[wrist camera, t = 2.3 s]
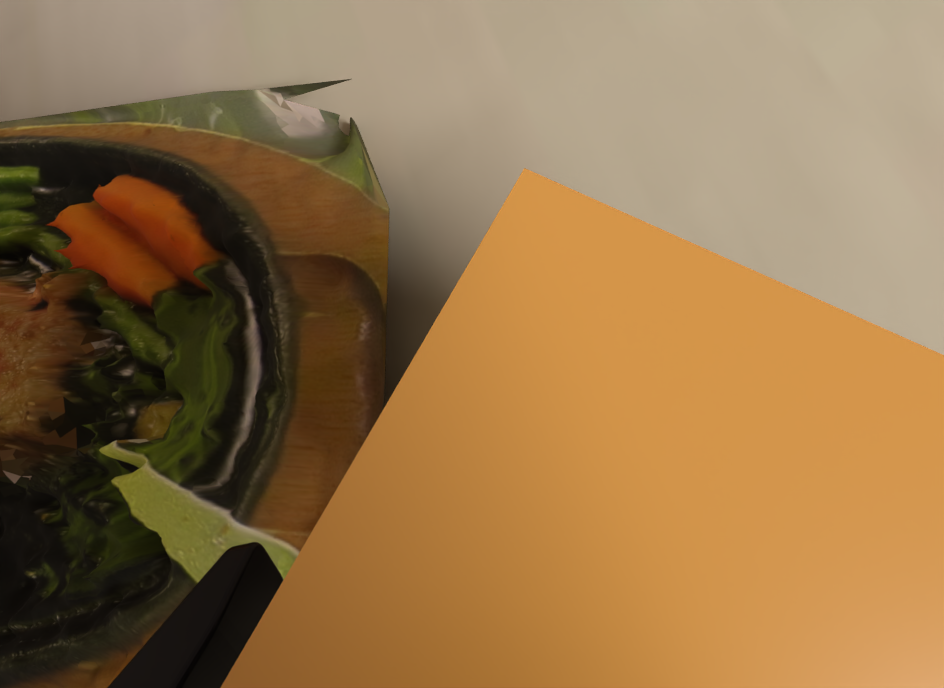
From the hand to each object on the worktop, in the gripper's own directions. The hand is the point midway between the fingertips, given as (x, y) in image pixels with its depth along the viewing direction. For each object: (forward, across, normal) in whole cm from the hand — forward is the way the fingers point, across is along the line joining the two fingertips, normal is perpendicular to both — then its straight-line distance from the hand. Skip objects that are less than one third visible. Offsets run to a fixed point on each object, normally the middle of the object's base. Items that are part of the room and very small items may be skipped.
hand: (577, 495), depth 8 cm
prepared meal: (+10, +17, +1) cm, 20 cm away
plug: (+5, 0, +6) cm, 8 cm away
